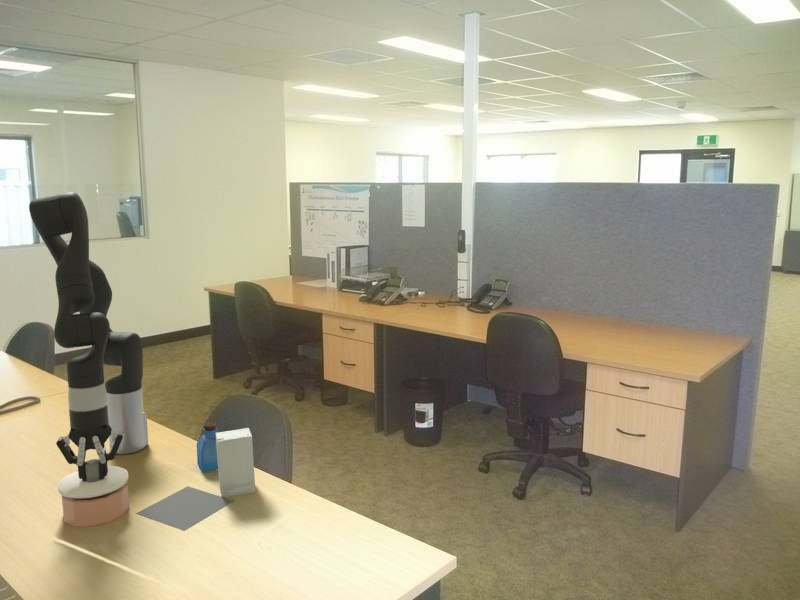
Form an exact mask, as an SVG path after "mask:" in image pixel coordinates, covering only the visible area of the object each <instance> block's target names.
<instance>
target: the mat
mask: <svg viewBox="0 0 800 600" xmlns="http://www.w3.org/2000/svg"><path fill="white" fill-rule="evenodd" d="M233 502H235V500H234V499H231V498H228V497H221V495H217V494H214V493H211V492H208V491H205V490H201V489H198V488H194V487H191V486H189V485H188V486H186V487H184V488H182V489H180V490H178V491H175V492H173V494H172V493H171V494H170V495H168V496H166V497H164V498H162V499H161V500H159V501H157V502H155V503H153V504H150V505H148V506H147V507H144V508H143V509H141V510H139V511H137V512H135V514H136V515H138V516H142V517H144V518H147V519H149V520H153V521H155V522H159V523H162V524H163V525H166V526H167V525H168V526H170V527H172V528H175V529H178V530H181V531H184V532H185V531H186V530H188V529H190V528H192V527H193V526H195V525H197V524H199V523H200V522H201V521H204V520H205V519H207V518H208V517H210V516H212V515H213V514H215V513H218V512H219V511H221V510H222V509H223V508H225V507H227V506H228V505H231V503H232V504H233Z"/></svg>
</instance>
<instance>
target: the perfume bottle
mask: <svg viewBox="0 0 800 600" xmlns="http://www.w3.org/2000/svg"><path fill="white" fill-rule="evenodd" d="M216 433H218V427H217V423H216V422H215V421H214V422H213V421H212V422H211V421H210V422H209V421H208V422H206V423H204V424H203V434H202V435H200V437H199V439H198V441H197V442H196V454H197V455H196V456H197V457H196V461H197V463H196V464H197V466H198V468H199V470H200V472H201V474H202V473H208V472H209V473H210V472H213V471H212V470H214V471H217V470H216V469H218V459H217V448H216Z"/></svg>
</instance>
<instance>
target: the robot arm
mask: <svg viewBox="0 0 800 600" xmlns="http://www.w3.org/2000/svg"><path fill="white" fill-rule="evenodd" d="M28 209H29V210H28V211H29V214H30V218H31V220H32V223H33V224H34V227H35V228H36V231H37V232H38V234H39V236H40V237H41V239H42V241H43V242H44V243H43V244H45V246H46V247H47V249H48V251H49V253H50V255H51V256H52V258H53V259H54V261H55V264H56V265H57V267H56V271H55V275H54V276H55V287H56V292H57V299H58V308H57V309H58V310H57V316H56V320H55V325H54V330H53V338H54V340H55V342H56V344H58V346H60V347H62V348H64V349H73V348H83V347H90V349H89V350H88V352H85V353H84V354H82V355H78V356H75V357H73V358H70V359H69V360H68V361H67V362H66V373H67V385H68V386H67V387H68V388H67V389H68V391H67V402H68V414H69V427H70V429H69V432H68V434H67V435H65V436H59V438H58V439H57V441H56V443H55V444H56V446H57V448H58V449H59V451H60V452H61V454H62V455H63V457H64V459H65V460H66V462H67V463H68V464H69V465H72V464H73V465H77V471H78V475H79V478H80V479H82V481H86V475H85V465H84V463H85V462H86V455H87V451H88V450H95V452H96V454H97V456H98V459H99V460H100V464H99V469H100V479H104V478H105V476H107V473H108V466H109V465H108V462H109V461H113V460H114V459H115V457H116V455H127V454H133V453H136V452H139V451H142V450H143V449H144V448H145V447H146V446H148V445H149V433H148V431H149V429H148V417H147V416H148V415H147V412H145V411H144V404H143V402H144V401H143V400H144V399H143V385H142V382H143V375H144V367H143V366H144V365H143V364H144V363H143V357H144V352H143V350H144V349H143V342H142V338H141V337H140V335H139V334H138V333H136V332H129V331H127V332H123V331H113V330H112V328H111V326H110V321H109V319H108V318H107V315H108V312H109V309H110V306H111V305H112V304H111V303H112V300H113V291H112V288H111V286H110V283H109V281H108V279H107V276H106V273H105V272H104V270H103V269H102V268H101V267H100V266H99V265H98V264H97V263H95V262H94V261H93V260H91V259H90V234H89V232H90V231H89V229H90V228H89V218H88V217H89V216H88V214H87V209H86V206H85V204H84V202H83V199H82V197H81V196H80V195H79V194H78V193H77V192H74V191H67V192H62V193H56V194H53V195H52V194H51V195H47V196H43V197H38V198H35V199H32V200H31V201H30V203H29V205H28ZM67 234H71V235H70V236H71V237H70V240H69V243H67V242H66V241H65V239H64V238H63V237H62V236H63V235H67ZM104 365H106V366H115V367H116V366H117V367H121V371H120V372H121V373H120V374H118V375H115V376H112V377H110V378H108V379H106V381H105V372H104V371H105V370H104ZM107 440H108V442H109V444H108V445H109V452H107V448H106V444H105V443H106V442H107ZM71 442H72V443H74V445H75V446H76V447H77V449H78V450H77V455H76V454H75V453H74V451H73V449H72V448H71V446H70V443H71Z"/></svg>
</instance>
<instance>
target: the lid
mask: <svg viewBox="0 0 800 600" xmlns="http://www.w3.org/2000/svg"><path fill="white" fill-rule="evenodd" d="M99 464H100V460H99V458H93V459H89V460H85V463H84V465H85V475H86V481H82V479H80V478H79V475H78V470H77V471H73V472H72V473H69V474H68V475H66V476H64V477H63V478H62V479H61V480H59V482H58V484H57V492H58V493H59V494H60V495H61V497H62V496H64V497H68V498H91V497H97V496H101V495H105V494H108V493H111V492H113V491H115V490H117V489H119V488H121V487H122V486H124V485H125V484H126V483H127V484H128V481H129V472H128V470H127V469H125V468H124V467H121V466H116V465H108V473H107V476H105V478H104V479H100V469H99Z"/></svg>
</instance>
